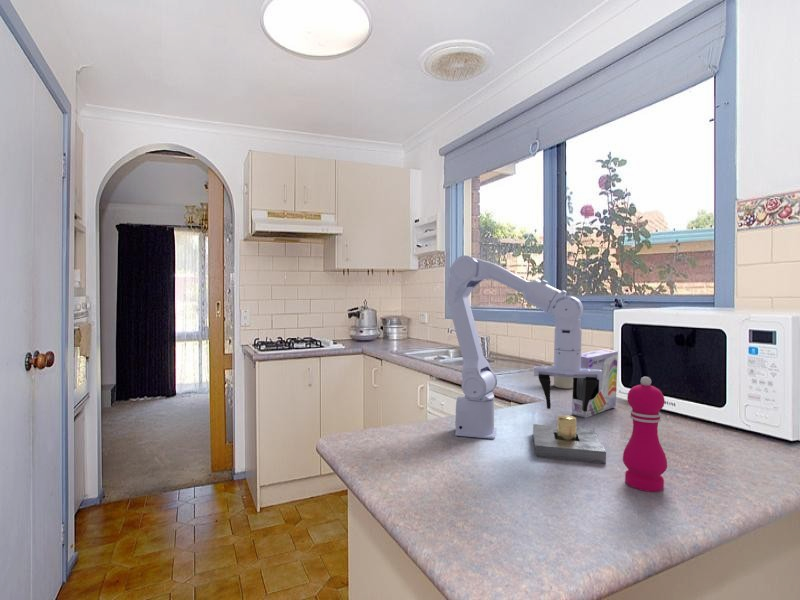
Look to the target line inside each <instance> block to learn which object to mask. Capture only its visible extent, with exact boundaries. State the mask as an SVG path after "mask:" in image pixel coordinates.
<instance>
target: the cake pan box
mask: <svg viewBox="0 0 800 600" xmlns="http://www.w3.org/2000/svg"><path fill="white" fill-rule="evenodd" d="M618 360H619V351H617V350H611V349H607V348H604V349H599V350H591V351H587V352H583V353H582V352H581V368H586V369H596V370H601V371H602V380H597V381H598V383H597V386H596V388H595V389H594V391H593V393H592V395H591V397H590V400H589V403H588V407H587V412H585V411H583V410H582V401H583V378H573V389H572V398H571V399H572V401H571V402H572V403H571V407H572V408H571V410H572V412H571V414H572V415H571V416H577V417H580V418H585V419H586V418H590V417H593V416H595V415H597V414H600V413H602V412H605V411H607V410H611V409H613V408H615V407H617V383H618V382H617V379H618Z"/></svg>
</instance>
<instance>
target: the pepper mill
mask: <svg viewBox="0 0 800 600" xmlns="http://www.w3.org/2000/svg"><path fill="white" fill-rule="evenodd" d="M627 402H628V404H629V406H630V407H631V409H630V410H629V412H630V415H629V418H630V419H632V433H631V435H630V438H629V439H628V442H627V443H626V444H625V445H626V446H625V447H624V450H623V454H622V462H623V464H624V465H625V467H626V468H627V470H626V471H625V472H624V473H625V475H624V477H625V478H624V480H625V483H626V484H627V485H628V486H630V487H632V488H634V489H636V490H639V491H644V492H660V491H662V490H663V489H664V486H665V478H664V477H663V476H662V474H664V473H666V470H667V468H668V460H667V456H666V453H665V450H664V449H663V447H662V445H661V442H660V440H659V434H658V427H659V422H661V421H662V418H661V416H662V414H661V412H660V411H661V410H662V409H663V408H664V406H665V396H664V394H663V392H662V390H661V389H660V388H657V387H656V386H654V385H652V379H651V377H650V376H643V377H641V378H640V384H637V385H636V384H635V386H632V387H631V388H630V389H629V390H628V393H627Z"/></svg>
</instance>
